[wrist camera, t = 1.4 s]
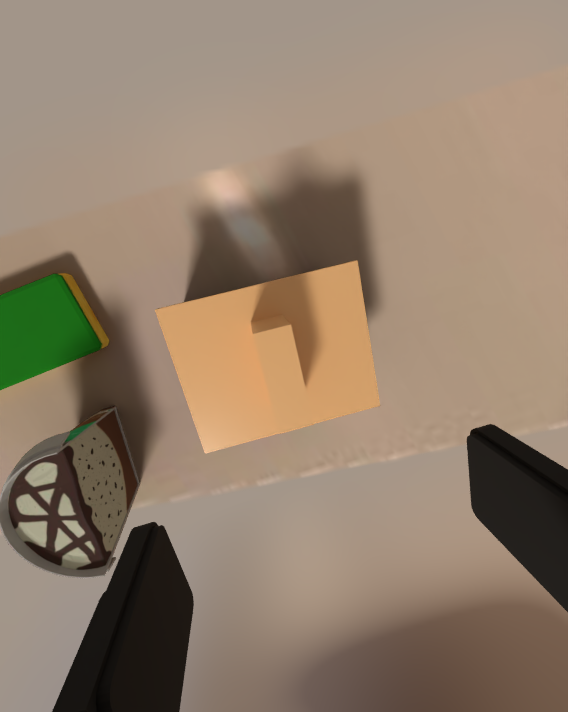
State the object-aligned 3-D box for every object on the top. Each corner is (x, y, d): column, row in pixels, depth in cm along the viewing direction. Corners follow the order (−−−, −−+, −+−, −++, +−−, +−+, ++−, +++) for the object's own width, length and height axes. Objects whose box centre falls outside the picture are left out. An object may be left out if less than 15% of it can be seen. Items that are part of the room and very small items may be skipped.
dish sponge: (-73, 329, 28) (-101, 335, 26) (72, 272, 29) (57, 272, 26) (-23, 397, 30) (-45, 408, 28) (113, 343, 31) (102, 349, 28)
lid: (348, 261, 25) (383, 258, 19) (370, 396, 29) (406, 431, 22) (161, 306, 24) (134, 319, 18) (207, 440, 28) (197, 490, 22)
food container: (46, 403, 31) (-42, 463, 21) (111, 392, 31) (53, 446, 22) (85, 506, 34) (25, 598, 25) (143, 495, 35) (106, 581, 25)
